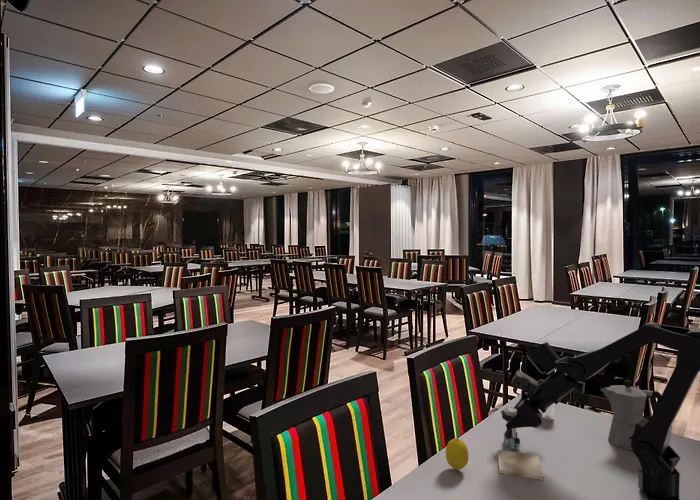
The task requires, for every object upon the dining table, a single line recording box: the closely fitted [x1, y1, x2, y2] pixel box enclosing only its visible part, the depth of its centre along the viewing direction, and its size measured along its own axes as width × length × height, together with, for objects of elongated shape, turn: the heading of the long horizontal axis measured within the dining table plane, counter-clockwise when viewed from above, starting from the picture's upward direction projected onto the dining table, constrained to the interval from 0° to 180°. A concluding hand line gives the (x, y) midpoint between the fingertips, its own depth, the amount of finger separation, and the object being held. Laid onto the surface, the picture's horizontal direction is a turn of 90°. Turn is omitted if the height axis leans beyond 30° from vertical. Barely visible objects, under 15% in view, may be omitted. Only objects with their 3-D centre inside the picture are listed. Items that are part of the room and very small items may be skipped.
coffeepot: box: [600, 379, 662, 452], centre depth 115 cm, size 15×9×18 cm, turn 72°
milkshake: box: [542, 403, 556, 421], centre depth 131 cm, size 4×5×10 cm
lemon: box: [445, 437, 469, 471], centre depth 101 cm, size 6×6×8 cm
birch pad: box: [497, 449, 545, 481], centre depth 103 cm, size 10×10×1 cm
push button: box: [500, 406, 521, 451], centre depth 113 cm, size 7×5×10 cm
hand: (508, 420), depth 114 cm, fingers open, 9 cm apart
